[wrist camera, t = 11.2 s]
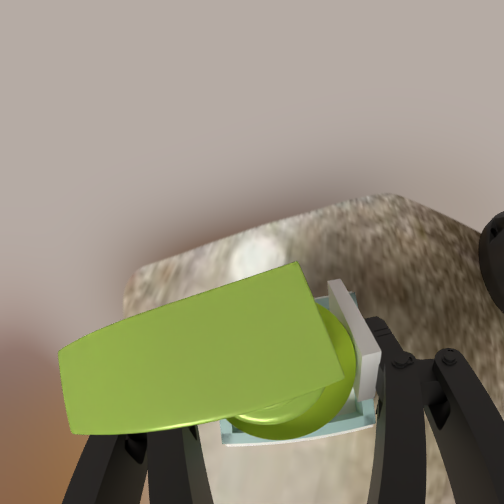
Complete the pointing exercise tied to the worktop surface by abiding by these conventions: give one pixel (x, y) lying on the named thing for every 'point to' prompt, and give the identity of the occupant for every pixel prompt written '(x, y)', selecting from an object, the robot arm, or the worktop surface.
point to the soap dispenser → (215, 363)
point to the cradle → (344, 422)
